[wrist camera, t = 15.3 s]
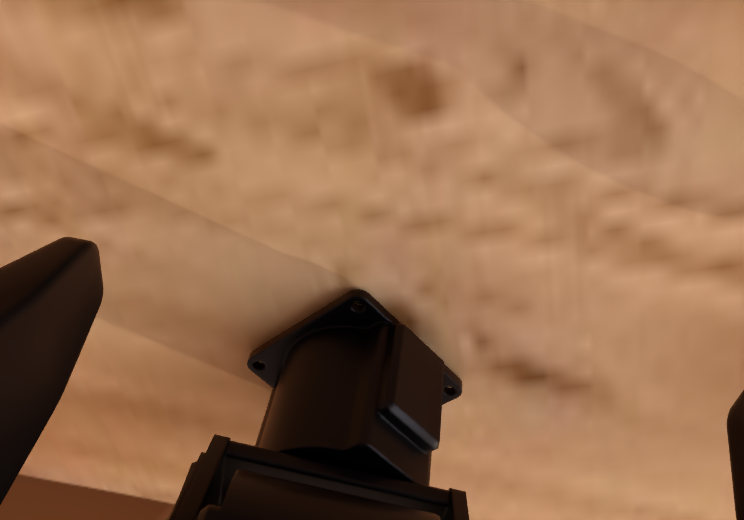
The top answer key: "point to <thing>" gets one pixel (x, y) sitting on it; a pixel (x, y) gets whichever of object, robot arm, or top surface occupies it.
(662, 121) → the top surface
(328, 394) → the robot arm
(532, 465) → the top surface
